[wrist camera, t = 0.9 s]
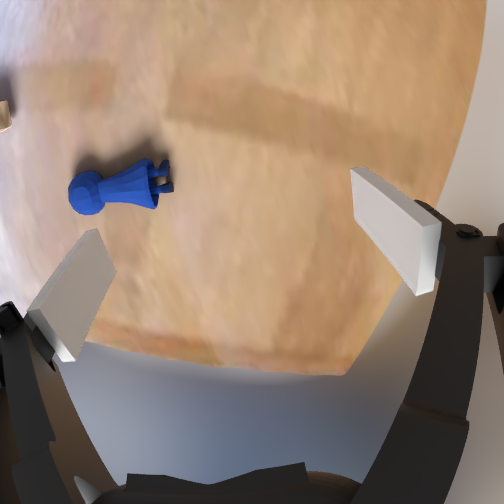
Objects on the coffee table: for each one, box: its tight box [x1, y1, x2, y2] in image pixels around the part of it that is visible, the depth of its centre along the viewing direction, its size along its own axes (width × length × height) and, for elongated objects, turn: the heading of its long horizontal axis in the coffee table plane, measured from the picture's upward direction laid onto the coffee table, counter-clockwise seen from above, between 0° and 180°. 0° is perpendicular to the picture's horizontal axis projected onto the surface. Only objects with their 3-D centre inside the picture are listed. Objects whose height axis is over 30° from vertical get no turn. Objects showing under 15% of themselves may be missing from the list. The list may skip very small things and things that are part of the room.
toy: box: [68, 158, 174, 215], centre depth 37 cm, size 7×6×15 cm
